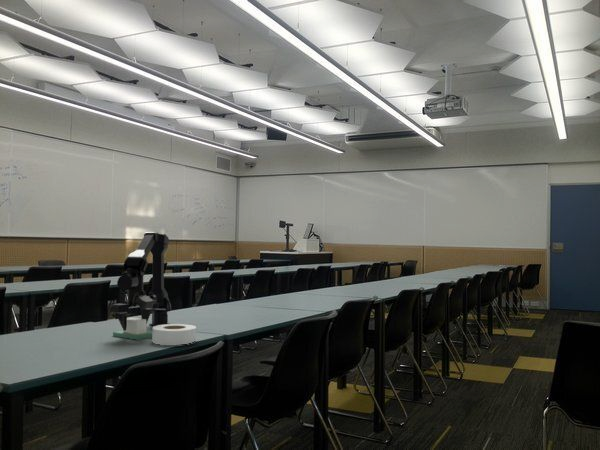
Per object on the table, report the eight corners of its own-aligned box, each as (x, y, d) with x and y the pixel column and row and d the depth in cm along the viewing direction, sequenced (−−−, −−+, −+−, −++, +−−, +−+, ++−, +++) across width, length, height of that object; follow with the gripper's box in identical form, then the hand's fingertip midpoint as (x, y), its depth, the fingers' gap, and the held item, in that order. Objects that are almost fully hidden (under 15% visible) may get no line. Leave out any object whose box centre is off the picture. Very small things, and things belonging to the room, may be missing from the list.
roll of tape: (196, 337, 204) (196, 323, 204) (195, 345, 189) (195, 330, 189) (154, 338, 201) (154, 323, 202) (150, 346, 186) (150, 330, 186)
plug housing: (123, 331, 204) (123, 318, 205) (132, 330, 208) (132, 317, 208) (136, 334, 200) (137, 320, 200) (146, 332, 204) (146, 319, 204)
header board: (113, 336, 204) (113, 325, 204) (132, 332, 212) (132, 322, 212) (137, 340, 196) (137, 329, 197) (155, 336, 204) (156, 325, 204)
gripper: (129, 291, 192) (128, 334, 192) (168, 287, 208) (167, 327, 207) (109, 289, 199) (108, 331, 198) (149, 286, 214) (148, 324, 214)
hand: (134, 328), depth 204 cm, fingers open, 9 cm apart
